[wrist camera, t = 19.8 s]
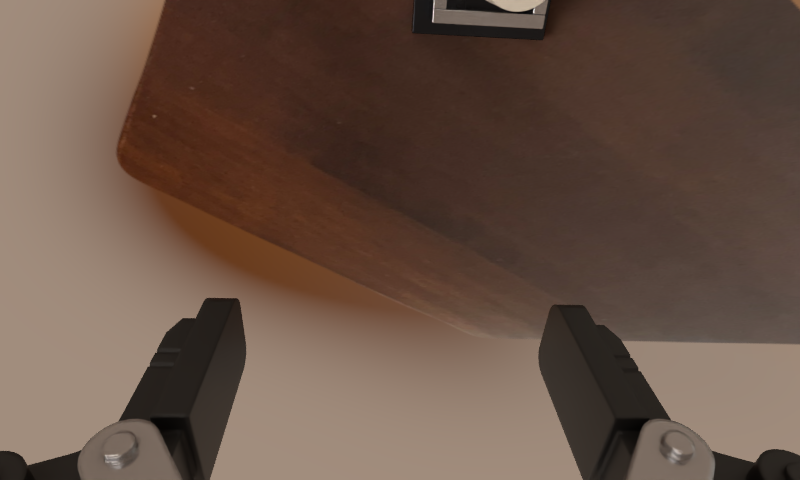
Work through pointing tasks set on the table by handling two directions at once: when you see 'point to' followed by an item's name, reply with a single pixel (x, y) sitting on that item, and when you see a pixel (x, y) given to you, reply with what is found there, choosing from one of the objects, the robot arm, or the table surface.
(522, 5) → the paper roll
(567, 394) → the robot arm
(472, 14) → the stand
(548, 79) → the table surface
